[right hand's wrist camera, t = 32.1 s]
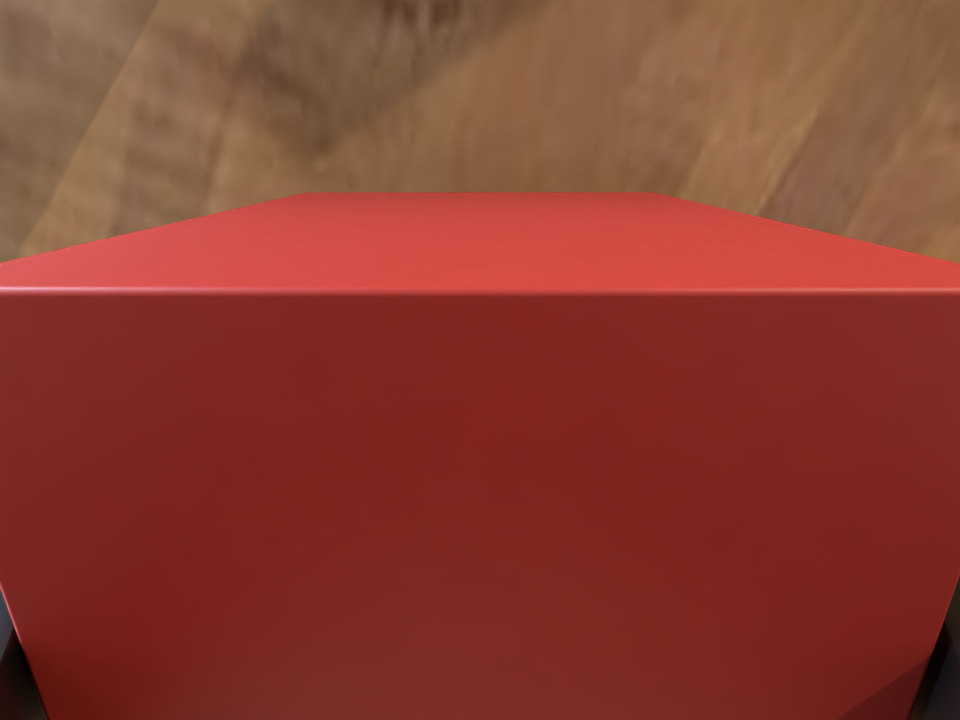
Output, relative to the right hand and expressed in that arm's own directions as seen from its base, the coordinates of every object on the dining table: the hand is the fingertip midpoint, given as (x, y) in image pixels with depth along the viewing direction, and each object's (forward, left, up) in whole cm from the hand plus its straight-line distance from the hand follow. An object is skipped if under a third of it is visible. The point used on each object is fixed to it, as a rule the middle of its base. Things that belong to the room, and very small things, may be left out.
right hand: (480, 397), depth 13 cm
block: (0, 0, -2) cm, 2 cm away
